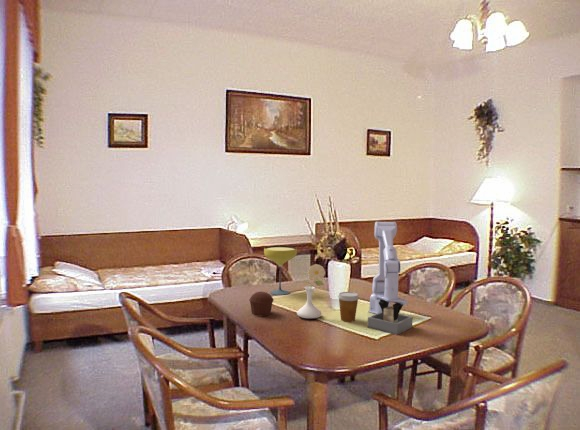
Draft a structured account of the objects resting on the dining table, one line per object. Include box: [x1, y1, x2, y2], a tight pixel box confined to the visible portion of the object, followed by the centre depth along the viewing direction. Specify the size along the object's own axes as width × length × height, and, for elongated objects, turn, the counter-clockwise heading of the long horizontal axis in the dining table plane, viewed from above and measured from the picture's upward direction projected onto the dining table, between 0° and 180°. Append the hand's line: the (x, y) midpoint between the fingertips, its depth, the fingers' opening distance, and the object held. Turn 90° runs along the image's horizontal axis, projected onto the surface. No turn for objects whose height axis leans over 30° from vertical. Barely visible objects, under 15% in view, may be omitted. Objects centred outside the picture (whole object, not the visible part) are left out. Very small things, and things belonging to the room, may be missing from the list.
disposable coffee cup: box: [337, 291, 360, 323], centre depth 218 cm, size 10×10×12 cm
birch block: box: [383, 306, 398, 323], centre depth 208 cm, size 4×4×6 cm
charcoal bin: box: [367, 312, 414, 336], centre depth 208 cm, size 14×14×4 cm
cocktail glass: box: [263, 245, 298, 296], centre depth 266 cm, size 18×18×25 cm
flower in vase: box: [296, 263, 326, 319], centre depth 221 cm, size 13×11×25 cm
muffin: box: [249, 291, 274, 317], centre depth 227 cm, size 12×11×10 cm
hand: (390, 318), depth 208 cm, fingers closed on birch block, 4 cm apart
